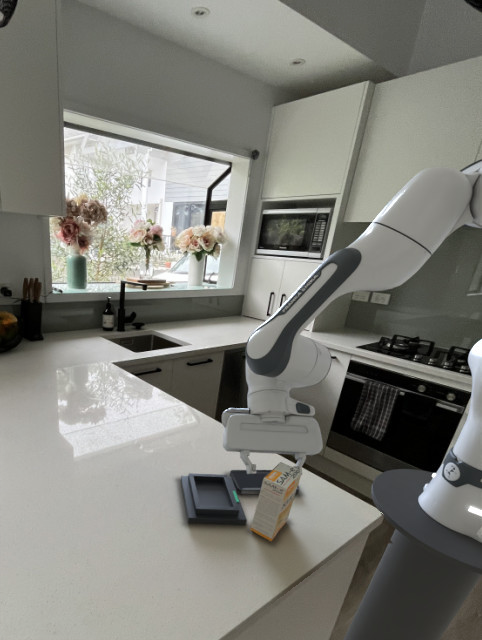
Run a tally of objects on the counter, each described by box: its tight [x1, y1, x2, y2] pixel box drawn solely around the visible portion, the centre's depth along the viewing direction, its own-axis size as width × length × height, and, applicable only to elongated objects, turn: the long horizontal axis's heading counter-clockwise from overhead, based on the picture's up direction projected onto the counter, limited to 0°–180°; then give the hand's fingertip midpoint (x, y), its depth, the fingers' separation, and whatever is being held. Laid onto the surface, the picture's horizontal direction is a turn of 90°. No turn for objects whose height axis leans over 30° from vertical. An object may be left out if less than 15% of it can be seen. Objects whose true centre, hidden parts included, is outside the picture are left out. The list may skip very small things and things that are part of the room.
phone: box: [228, 469, 300, 495], centre depth 90 cm, size 8×1×15 cm
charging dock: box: [180, 472, 248, 526], centre depth 83 cm, size 12×14×3 cm
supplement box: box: [250, 461, 303, 542], centre depth 75 cm, size 8×5×13 cm, turn 139°
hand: (274, 474), depth 76 cm, fingers open, 8 cm apart
